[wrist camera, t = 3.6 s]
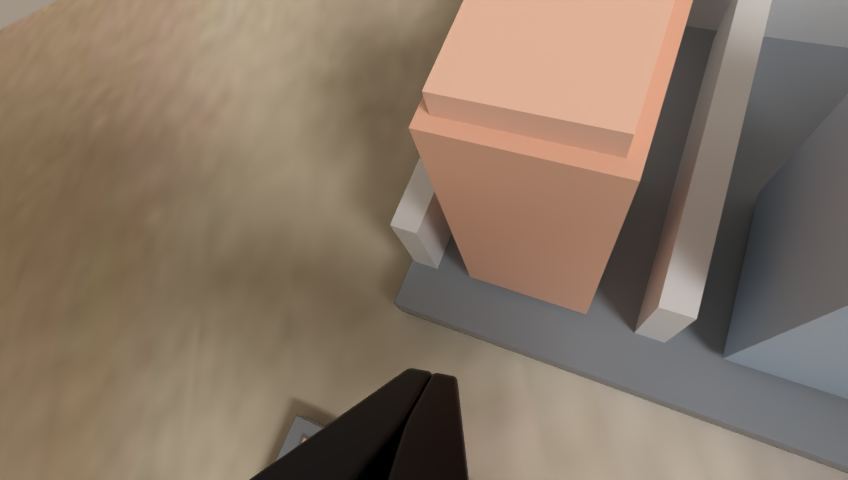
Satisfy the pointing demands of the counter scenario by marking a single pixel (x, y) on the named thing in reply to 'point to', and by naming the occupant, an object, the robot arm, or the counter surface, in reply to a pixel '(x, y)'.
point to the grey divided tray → (675, 234)
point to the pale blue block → (799, 268)
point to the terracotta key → (545, 133)
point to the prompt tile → (299, 433)
